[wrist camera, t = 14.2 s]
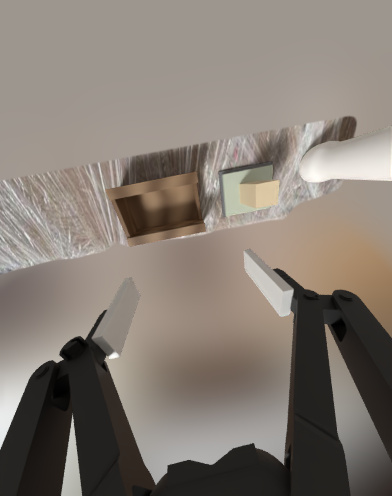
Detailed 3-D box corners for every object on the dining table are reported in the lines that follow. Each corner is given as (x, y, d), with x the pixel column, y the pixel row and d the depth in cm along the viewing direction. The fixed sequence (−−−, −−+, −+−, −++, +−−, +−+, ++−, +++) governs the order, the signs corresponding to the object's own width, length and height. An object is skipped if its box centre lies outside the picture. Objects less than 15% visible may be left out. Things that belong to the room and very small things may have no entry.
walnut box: (138, 236, 38) (129, 246, 32) (119, 188, 33) (105, 189, 27) (202, 223, 38) (205, 231, 32) (193, 173, 33) (196, 171, 27)
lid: (225, 215, 38) (238, 225, 29) (221, 174, 33) (235, 171, 25) (268, 207, 38) (294, 214, 29) (270, 165, 33) (301, 158, 25)
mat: (222, 216, 38) (223, 217, 38) (218, 172, 33) (219, 171, 33) (269, 207, 38) (269, 207, 38) (271, 161, 33) (272, 161, 33)
